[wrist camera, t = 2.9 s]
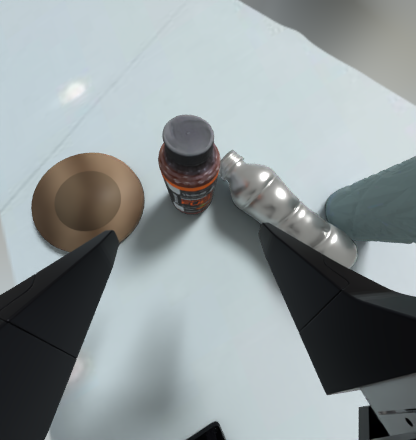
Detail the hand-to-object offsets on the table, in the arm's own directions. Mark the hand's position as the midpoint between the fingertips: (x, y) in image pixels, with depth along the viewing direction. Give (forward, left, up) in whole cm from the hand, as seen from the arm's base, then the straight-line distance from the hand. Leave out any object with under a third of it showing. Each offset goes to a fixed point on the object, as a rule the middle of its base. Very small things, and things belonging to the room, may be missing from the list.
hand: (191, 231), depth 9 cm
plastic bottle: (+15, -11, -9) cm, 21 cm away
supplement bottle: (+2, +6, -12) cm, 14 cm away
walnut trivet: (-11, +11, -12) cm, 20 cm away
